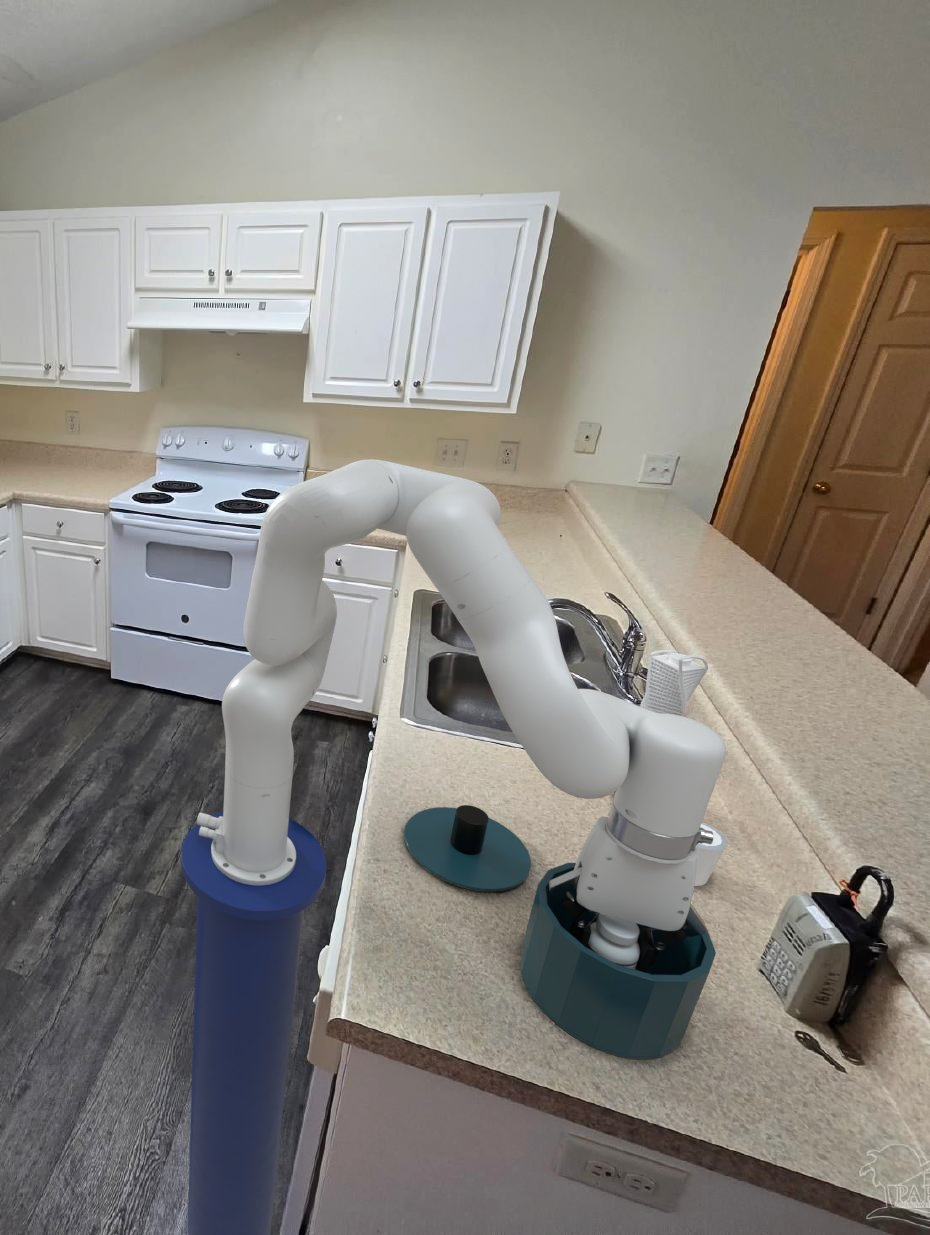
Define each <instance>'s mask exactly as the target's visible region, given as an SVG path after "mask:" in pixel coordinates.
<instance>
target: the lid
mask: <svg viewBox="0 0 930 1235" xmlns="http://www.w3.org/2000/svg"><path fill="white" fill-rule="evenodd" d="M403 837H404V843H405V845H406V848H407V850H408V852H409V853H410V855H411V856H412V858H414V860H415V861H416V862H417V863H418V864H419V865H420V866H421V867H423V868H424V869H425V870H427V871H428V872H429V873H430V874H432V875H433V876H436V877H437V878H439V879H441V880H443V881H445V882H447V883H450V884H452V885H454V886H458V887H461V888H463V889H468V890H471V891H479V892H487V893H489V892H503V891H508V890H512V889H514V888H516V887H519V886H520V885H521V884H523V883H524V882H525V881H526V880H527V878H528V877H529V875H530V872H531V869H532V860H531V856H530V855H531V854H530V853H529V850H528V849H527V847H526V846H525V844H524V842H522V840H521V839H520V838H519V837H518V836H517V835H516V834H515V833H514V832H512V831H511V830H510V829H509V828H507V827H506V826H505V825H503V824H502V823H500V822H498V821H497V820H495V819H493V818H491V817H489V816H488V814H487V813H486V812H485V811H484V810H483V809H481V808H480V807H477V806H475V805H471V804H463V805H459V806H458V807H451V806H449V807H448V806H443V807H442V806H441V807H439V806H438V807H430V808H427V809H423V810H421V811H418V812H417V813H415V814H414V815H411V817H410V818H409V819H408V820H407V822H406V824H405V827H404V830H403Z"/></svg>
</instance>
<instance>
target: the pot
mask: <svg viewBox="0 0 930 1235" xmlns="http://www.w3.org/2000/svg"><path fill="white" fill-rule="evenodd" d="M575 865H576V862H566V863H564V864H560V865H558V866H555V867H552V868H550V869H548V870H547V871H546V872H545V874H544V875H543V877H542V878H541V879H540V881H539V882H538V884H537V887H536V891H535V895H534V898H533V902H532V905H531V906H532V907H531V909H530V914H529V918H528V920H527V921H528V922H527V926H526V929H525V933H524V936H523V940H522V944H521V947H520V952H519V956H520V957H519V970H520V975H521V979H522V982H523V984H524V986H525V988H526V991H527V992H528V994H529V995H530V997H531V999H532V1000H533V1001H534V1003H535V1004H536V1005H537V1007H538V1008H539V1009H540V1010H541V1011H542V1012H543V1013H544V1014H545V1016H546V1017H548V1018H549V1019H550V1020H551V1021H552V1022H553V1023H554V1024H555V1025H557V1026H558V1027H559V1028H561V1029H562V1030H563V1031H565V1032H566V1033H568V1034H569V1035H570V1036H572V1037H573V1038H575V1039H577V1040H578V1041H580V1042H582V1043H583V1044H584V1045H587V1046H590V1047H591V1048H593V1049H596V1050H598V1051H601V1052H603V1053H606V1054H609V1055H612V1056H616V1057H618V1058H624V1059H629V1060H640V1061H643V1060H644V1061H645V1060H654V1059H659V1058H660V1059H661V1058H662V1057H665V1056H667V1055H669V1054H671V1053H672V1052H673V1051H675V1050H676V1048H678V1047H679V1046H681V1043H682V1041H683V1038H684V1036H685V1033H686V1031H687V1029H688V1026H689V1024H690V1021H691V1019H692V1016H693V1013H694V1011H695V1009H696V1007H697V1004H698V1001H699V999H700V997H701V994H702V991H703V990H704V987H705V984H706V982H707V979H708V976H709V974H710V971H711V969H712V966H713V963H714V960H715V957H716V954H717V952H716V949H715V947H714V946H715V945H714V943H713V940H712V938H711V935H710V933H709V930H708V929H707V933H705V934H702V935H697V936H693V937H689V936H688V937H686V938H685V939H684V940H682V941H679V942H675V943H672V944H668V945H666V946H667V947H666V949H665V950H659V953H658V956H657V958H656V961H655V964H654V966H651V965H649V967H648V970H647V973H645V972H641V971H638V970H637V968H636V967H635V970H634V969H631V968H628V967H624V966H621V965H617V964H616V963H614V962H612V961H610V960H608V959H606V958H605V957H603V956H601V955H599V954H597V953H595V952H593V951H592V950H590V949H588V948H586V947H585V946H584V945H582V944H581V943H580V942H579V941H578V940H577V939H576V938H574V937H573V936H572V935H571V934H570V929H571V926H572V923H573V918H572V916H571V915H570V914H569V913H568V912H567V911H566V909H565V908H564V907H563V904H562V903H561V902H559V901H558V900H557V899H556V898H555V897H554V896H553V894H552V893H551V892H550V891H549V881H550V880H552V879H554V878H557V877H559V876H561V875H564V874H566V873H568V872H570V871H573V870H574V868H575ZM568 892H570V893H572V894H573V895H574V896H575V898H576V899H577V888H574V889H572V890H570V891H568ZM599 914H600V913H599ZM599 914H598V916H599ZM598 916H597V917H596V918H595V919H594V920H593V921H592V922H591V923H590V925H591V924H593V923H595V922H596V921H597V918H598ZM636 924H637V923H636ZM637 926H638V927H639V931H641V930H643V927H645V928H648V926H645V925H641V924H637ZM639 934H640V932H639ZM638 937H639V936H638Z"/></svg>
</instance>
